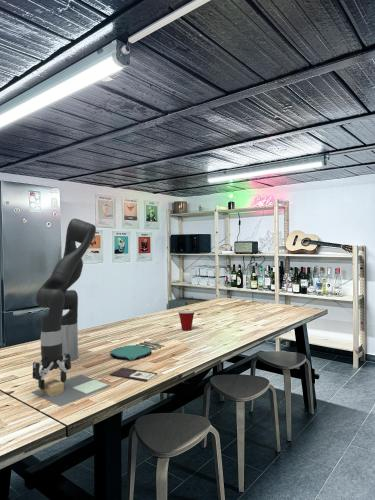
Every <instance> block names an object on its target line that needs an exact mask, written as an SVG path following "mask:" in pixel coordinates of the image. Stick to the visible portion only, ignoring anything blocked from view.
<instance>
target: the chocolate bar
mask: <svg viewBox="0 0 375 500" xmlns="http://www.w3.org/2000/svg"><path fill="white" fill-rule="evenodd" d="M157 375H158V372H154V371H147V370H140V369H133V368H127V367H121V368H118V369H117V370H114V371H113V372H112V373H110V374H109V376H110V377H116V378H121V379H125V380H126V379H127V380H133V381H136V382H137V381H139V382H144V383H147V382H148V381H150V380H151V379H153V378H154V377H156V376H157Z"/></svg>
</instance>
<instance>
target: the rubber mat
mask: <svg viewBox="0 0 375 500" xmlns="http://www.w3.org/2000/svg"><path fill="white" fill-rule="evenodd" d="M111 387H112V385H111V384H108V383H105V382H103V381H100V380H97V379H94V378H91V377H89V376H86V375H83V374H79V375H76V376H74V377H71V378H68V379H67V378H66V380H65V382H64V392H62V393H60V394H57V395H54V396H52V397H51V396H49V395H47V394H45V393H43V392H41V391H40V388H38V389H36V390H33V391H31V392H30V393H32V394H34V395H35V396H38V397H40V398H42V399H44V400H46V401H47V402H50V403H51V404H54V405H56V406H57V407H60V408H62V407H63V406H66V405H68V404H71V403H72V402H76V401H79V400H81V399H82V398H83V399H84V398H86V397H88V396H91V395H93V394H96V393H98V392H100V391H103V390H105V389H108V388H111Z"/></svg>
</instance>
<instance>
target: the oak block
mask: <svg viewBox="0 0 375 500" xmlns="http://www.w3.org/2000/svg"><path fill="white" fill-rule="evenodd" d="M44 382H45V389H44V390H41V389H40V388H39V389H40V391H41V392H43V393H45V394H47V395H49V396H51V397H52V396H54V395H57V394H60V393H62V392H64V383H63V382H61V380H58V379H55V378H53V377H51V378H48V379H44Z"/></svg>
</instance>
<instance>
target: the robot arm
mask: <svg viewBox="0 0 375 500" xmlns="http://www.w3.org/2000/svg"><path fill="white" fill-rule="evenodd" d="M96 231H97V227H96V225H94V224H93V223H90V222H87V221H84V220H82V219H78V218H72V219H71V220H70V221H69V223H68V225H67V227H66V234H65V245H64V251H63V256H62V258H61V259H59V261H58V262H57V263H56V264H55V267H54V268H53V270H52V272H51V275H50V276H49V277H48V278H47V279H46V280H45V281H44V283H43V284H42V285H41V286H40V287H39V289H38V290H37V292H36V294H35V295H36V296H35V304H36V305H37V306H38V307H39V308H47V309H48V313H46V314H44V315H42V316H41V318H40V331H41V332H40V356H41V360H40V361H33V363H32V379H33V380H37V381H38V382H37V386H38V389H41V390H44V389H45V382H44V380H45V377H46V376H47V375H48V374H49V372H51V371H53V370H57V369H58V370H60V381H61V382H63V383H64V382H65V380H67V372H68V370H71V369H72V363H71V361H75V360H77V359H78V358H79V333H78V332H79V331H78V330H79V328H78V327H79V326H78V315H79V314H78V313H79V312H78V308H79V296H78V292H77V291H76V290H75V289H69V288H71V287H72V286H73V285H74V284H75V283H76V282H77V281H78V280H79V278H80V277H81V276H82V272H83V267H84V262H83V259H82V258H83V257H84V256H85V253H86V252H87V250H88V249H89V247H90V245H91V244H92V242H93V240H94V238H95V235H96ZM76 243H79V244H80V245H79V246H78V247H77V244H76ZM67 310H68V311H67ZM64 311H67V312H66V313H65V314H63V312H64ZM62 362H64V364H63V363H62ZM40 368H41V369H40Z"/></svg>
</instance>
